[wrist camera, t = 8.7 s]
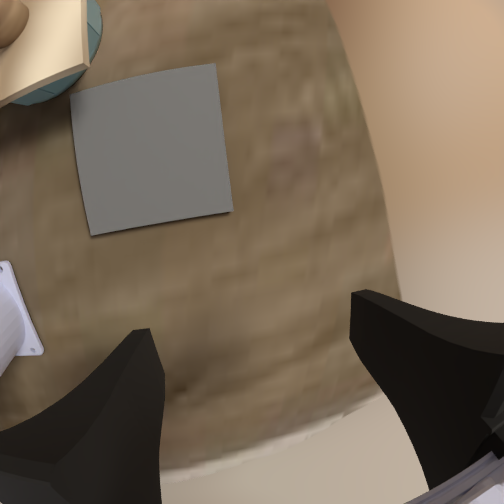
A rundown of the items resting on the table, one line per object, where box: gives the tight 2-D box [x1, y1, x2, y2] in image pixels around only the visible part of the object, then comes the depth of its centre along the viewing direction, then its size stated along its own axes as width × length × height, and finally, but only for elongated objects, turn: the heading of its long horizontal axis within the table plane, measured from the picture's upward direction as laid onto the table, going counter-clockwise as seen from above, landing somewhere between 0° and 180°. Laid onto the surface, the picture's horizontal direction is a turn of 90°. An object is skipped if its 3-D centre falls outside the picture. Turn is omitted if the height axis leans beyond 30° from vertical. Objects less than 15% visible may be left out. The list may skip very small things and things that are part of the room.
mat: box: [70, 63, 233, 236], centre depth 17 cm, size 9×9×1 cm
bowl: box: [10, 0, 103, 106], centre depth 11 cm, size 8×8×4 cm
